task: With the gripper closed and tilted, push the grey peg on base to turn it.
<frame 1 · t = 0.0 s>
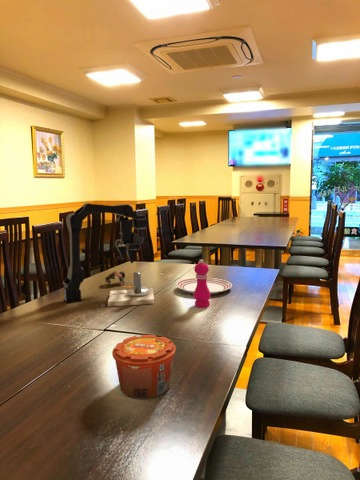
hand: (128, 261, 182), 15 cm above the table, tool pointing down, fingers open, 9 cm apart
food container: (145, 386, 94), on the table
dinner plate: (204, 290, 182), on the table
pepper mill: (202, 305, 158), on the table
stand: (131, 298, 170), on the table
grey peg on base: (134, 282, 169), point 8 cm above the table, hinge at 0.0°
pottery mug: (116, 284, 198), on the table
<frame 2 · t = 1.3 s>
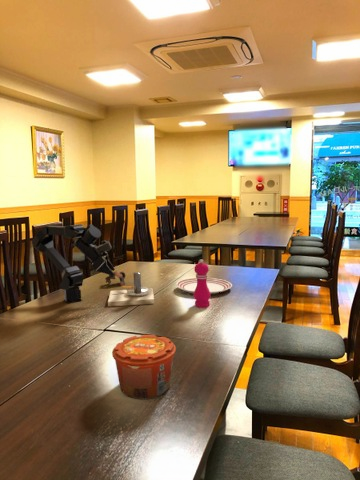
hand: (113, 272, 165), 13 cm above the table, tool tilted 45°, fingers open, 9 cm apart
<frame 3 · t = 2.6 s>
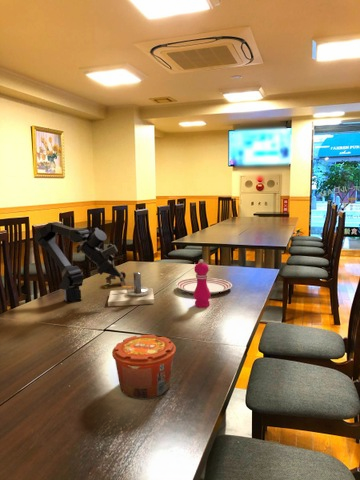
hand: (120, 276, 163), 12 cm above the table, tool tilted 45°, fingers closed
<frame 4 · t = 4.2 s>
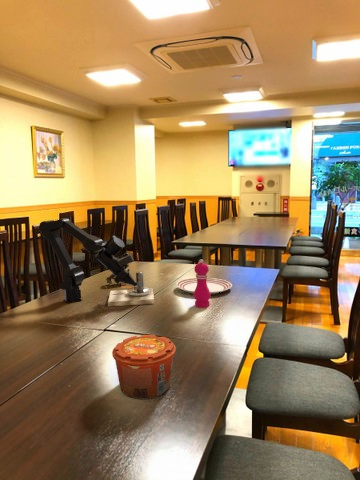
hand: (136, 285, 164), 8 cm above the table, tool tilted 45°, fingers closed, pressing on grey peg on base
grey peg on base: (135, 282, 169), point 8 cm above the table, hinge at 9.1°, touching gripper
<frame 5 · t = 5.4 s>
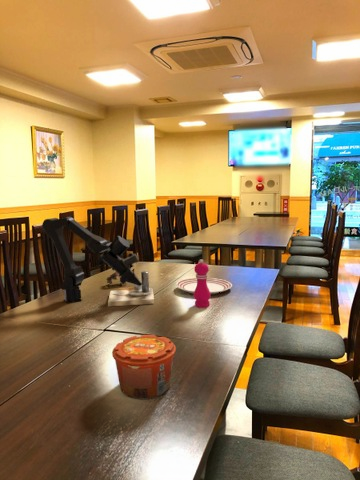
hand: (141, 284, 164), 8 cm above the table, tool tilted 45°, fingers closed
grey peg on base: (137, 282, 169), point 8 cm above the table, hinge at 29.3°
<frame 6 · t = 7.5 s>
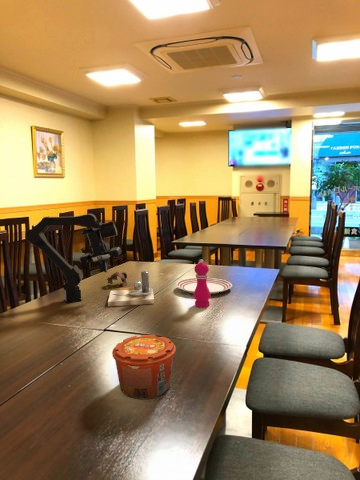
hand: (106, 272, 171), 12 cm above the table, tool tilted 15°, fingers closed
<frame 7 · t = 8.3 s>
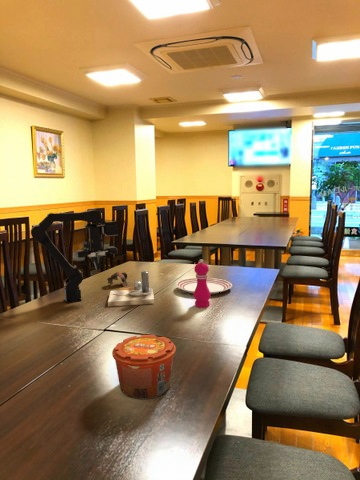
hand: (97, 270, 172), 13 cm above the table, tool pointing down, fingers closed
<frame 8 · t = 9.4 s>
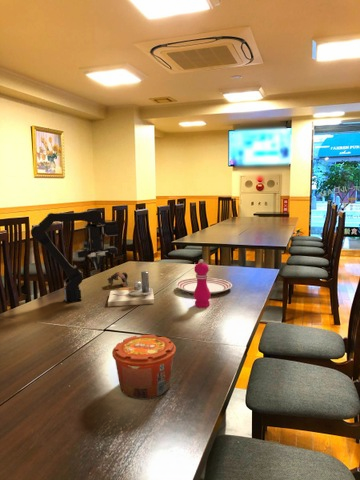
hand: (97, 270, 172), 13 cm above the table, tool pointing down, fingers closed
at the end: grey peg on base at +29° (first picture: +0°) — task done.
